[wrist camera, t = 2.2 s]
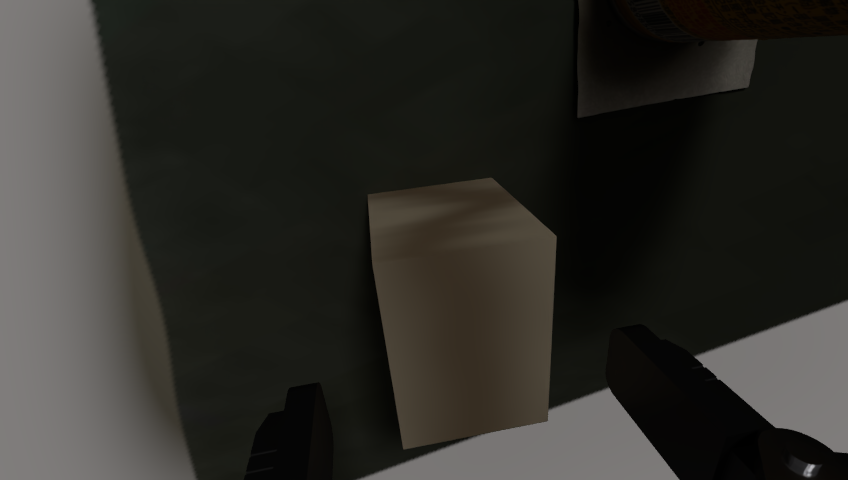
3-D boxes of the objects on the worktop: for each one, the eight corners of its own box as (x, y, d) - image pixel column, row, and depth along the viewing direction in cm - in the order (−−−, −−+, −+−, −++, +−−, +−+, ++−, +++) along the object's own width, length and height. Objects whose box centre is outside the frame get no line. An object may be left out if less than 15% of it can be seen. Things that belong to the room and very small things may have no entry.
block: (491, 177, 16) (556, 236, 11) (494, 319, 19) (547, 421, 14) (367, 193, 16) (372, 264, 11) (390, 336, 19) (403, 449, 13)
